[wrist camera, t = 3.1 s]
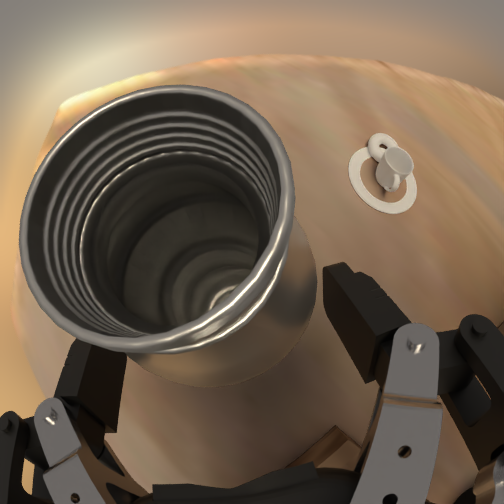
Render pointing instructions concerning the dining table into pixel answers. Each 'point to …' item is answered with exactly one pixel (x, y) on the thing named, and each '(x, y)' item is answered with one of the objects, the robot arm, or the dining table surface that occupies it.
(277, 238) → the plastic bottle
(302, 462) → the drawer
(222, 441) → the dining table surface
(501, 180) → the dining table surface
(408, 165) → the teacup and saucer
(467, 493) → the drinking cup
